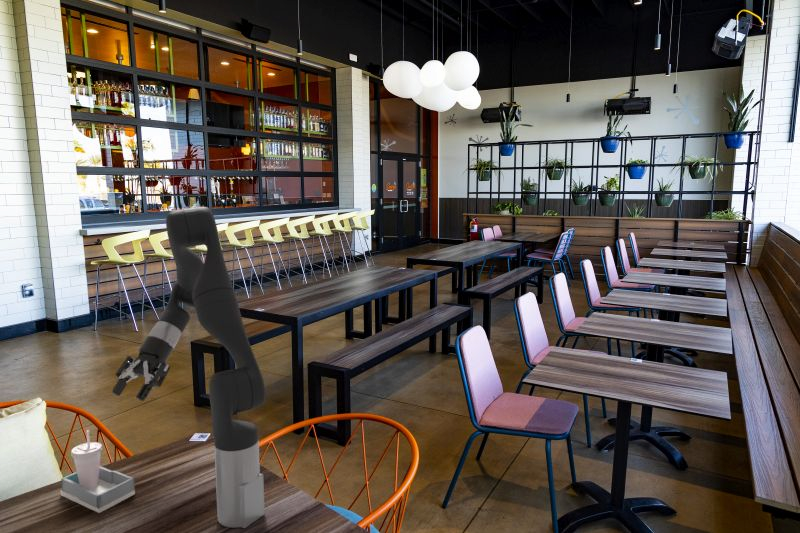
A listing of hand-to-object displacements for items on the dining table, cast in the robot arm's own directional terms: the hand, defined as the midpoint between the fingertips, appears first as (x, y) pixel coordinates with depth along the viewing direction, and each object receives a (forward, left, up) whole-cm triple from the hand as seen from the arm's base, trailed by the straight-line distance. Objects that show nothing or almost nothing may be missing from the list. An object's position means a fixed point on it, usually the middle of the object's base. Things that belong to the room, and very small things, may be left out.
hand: (127, 397), depth 136 cm
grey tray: (-4, +12, -19) cm, 23 cm away
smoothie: (-1, +12, -18) cm, 22 cm away
